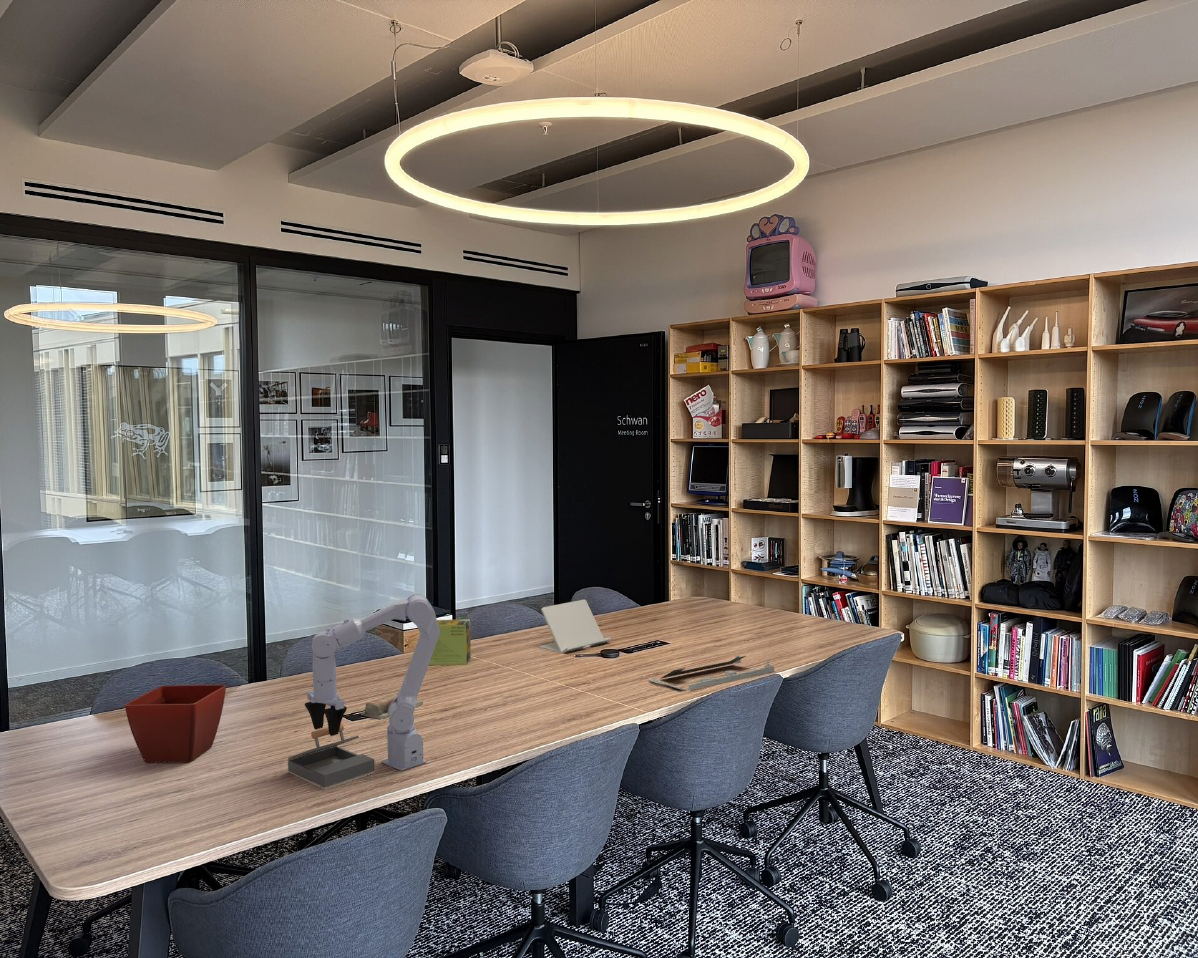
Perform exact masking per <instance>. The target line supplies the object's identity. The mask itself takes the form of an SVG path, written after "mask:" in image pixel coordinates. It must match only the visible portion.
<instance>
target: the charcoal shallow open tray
mask: <svg viewBox="0 0 1198 958" xmlns="http://www.w3.org/2000/svg"><path fill="white" fill-rule="evenodd" d="M287 768H288V769H287V771H288V773H289V772H290V774H292V775H293V774H294V775H293V776H296V777H298V778H300V779H302V780H304V781H306V782H308V783H311V784H312V785H315V786H316V785H317V786H316V787H317V788H320V787H321V789H323V790H324V789H325V791H326V790H329V789H333V788H334V787H338V786H340V785H343V784H346V782H347V783H350V782H352V780H353V781H355V780H359V779H361V777H362V778H364V777H367V775H368V776H370V774H371V775H373V774H375V772H376V771H375V758H372V757H370V756H368V755H365V754H363V753H362V754H357V753H355V752H353V751H349V750H348V749H345V748H342V747H340V746H339V745H338V746H334V747H331V748H328V749H324V750H321V751H318V752H314V753H311V754H308V755H304V756H301V757H298V758H294V759H291V760H287ZM337 785H338V786H337Z"/></svg>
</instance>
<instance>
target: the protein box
mask: <svg viewBox="0 0 1198 958" xmlns="http://www.w3.org/2000/svg"><path fill="white" fill-rule="evenodd" d="M437 623H438V627H439V630H440V634H439V637H438V640H437V643H436V646H435V649H434V651H433V654H432V657H431V660H430V662H429V665H428V666H463V665H464V666H466V665H467V664H468V663H469V662H470V660H471V659H472V647H471V646H472V643H471V619H469V618H468V619H437Z"/></svg>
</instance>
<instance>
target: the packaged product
mask: <svg viewBox="0 0 1198 958" xmlns="http://www.w3.org/2000/svg"><path fill="white" fill-rule="evenodd" d="M397 694H398V692H396V693H393V694H389V695H386V696H383V697H381V698H380V697H379V698H377V699H374V700H371V701H368V702H366V703H365V707H364V711H360V712H359V715H360V714H361V715H360V716H362V717H363V716H364V717H367V718H373V719H377V720H381V719H383V720H385V719H387V718H389V716H388V708H389V705H390V704H391V703H392V702H393V701H394V700H395V698H396V696H397ZM423 705H424V700H418V699H417V700H416V706H415V709H416V708H419V707H420V706H423Z"/></svg>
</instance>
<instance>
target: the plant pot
mask: <svg viewBox="0 0 1198 958" xmlns="http://www.w3.org/2000/svg"><path fill="white" fill-rule="evenodd" d="M226 689H227V685H226V684H189V685H186V684H185V685H180V684H179V685H162V686H158V687H157V688H155V689H152V690H150V691H149V692H146V693H144V694H142V695H140V696H138V697H137V698H134V699H132V700H130V701H128V702H126V703H125V704H124V709H125V714H126V717H127V722H128V725H129V728H130V731H131V735H132V737H133V740H134V742H135V744H136V747H137V749H138V751H139V753H140V755H141V757H142V759H143V761H144V763H147V764H148V763H153V764H154V763H190V762H192V761H194V760H195V759H197V758H198V757H200V756H201V755H202V754H204V753H206V752H207V751H208V750H210V749H211V748H212V747H213V744H214V741H215V739H216V736H217V732H218V729H219V726H220V721H221V718H222V712H223V709H224V705H225V704H224V702H225V698H226Z"/></svg>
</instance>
